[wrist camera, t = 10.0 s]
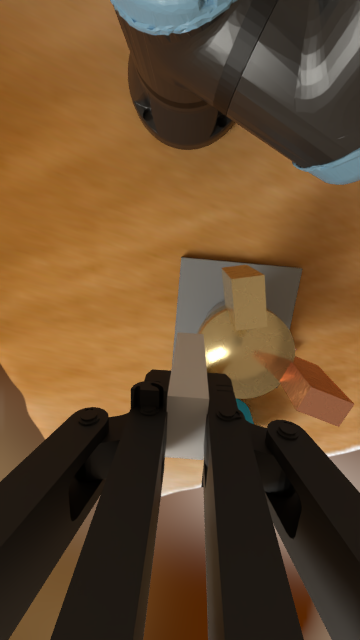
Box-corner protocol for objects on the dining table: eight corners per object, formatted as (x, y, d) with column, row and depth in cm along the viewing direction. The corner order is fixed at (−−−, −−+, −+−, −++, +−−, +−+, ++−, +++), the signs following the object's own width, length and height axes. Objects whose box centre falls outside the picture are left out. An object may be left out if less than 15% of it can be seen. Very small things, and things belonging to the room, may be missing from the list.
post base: (181, 256, 44) (179, 262, 35) (310, 268, 43) (340, 277, 35) (171, 374, 49) (167, 403, 41) (285, 385, 49) (304, 417, 41)
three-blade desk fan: (167, 389, 40) (160, 432, 31) (226, 256, 34) (238, 263, 26) (277, 431, 41) (299, 483, 32) (351, 309, 35) (403, 333, 27)
